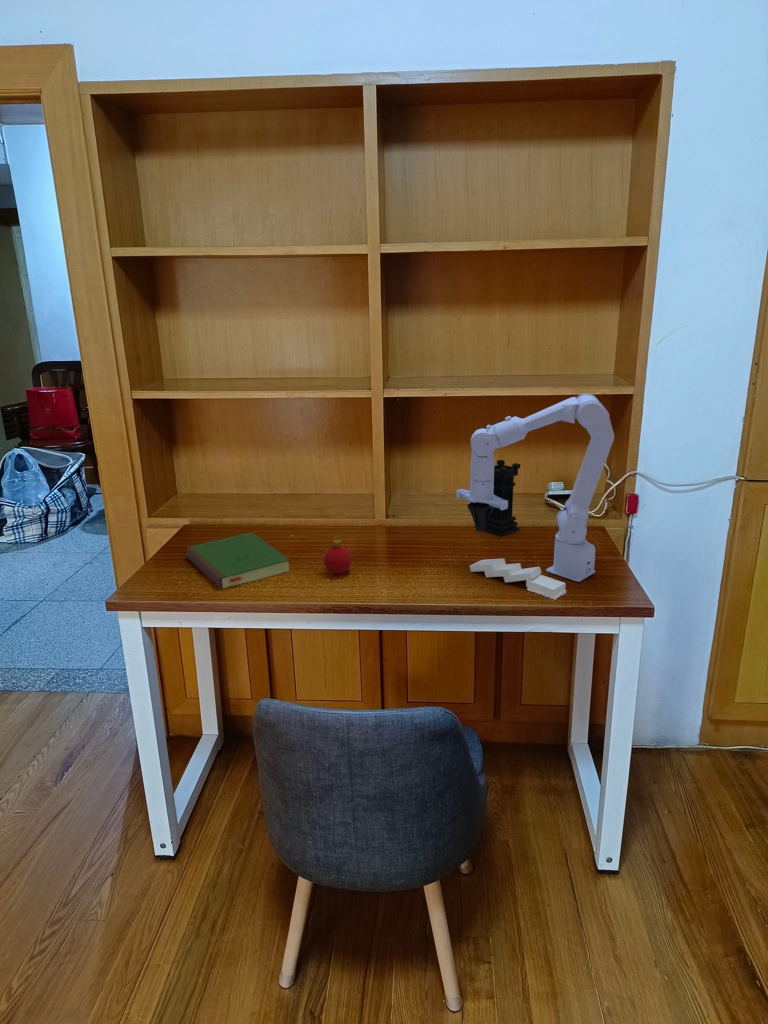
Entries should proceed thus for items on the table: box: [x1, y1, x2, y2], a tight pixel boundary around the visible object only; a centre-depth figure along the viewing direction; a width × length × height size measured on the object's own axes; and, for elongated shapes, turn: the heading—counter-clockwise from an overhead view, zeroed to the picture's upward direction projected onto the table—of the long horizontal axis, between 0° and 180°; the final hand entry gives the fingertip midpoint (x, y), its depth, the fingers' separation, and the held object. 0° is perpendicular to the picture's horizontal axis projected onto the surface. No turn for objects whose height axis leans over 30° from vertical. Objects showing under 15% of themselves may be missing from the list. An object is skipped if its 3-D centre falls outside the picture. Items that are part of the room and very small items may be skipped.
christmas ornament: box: [323, 535, 353, 575], centre depth 173 cm, size 7×7×10 cm
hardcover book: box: [186, 531, 291, 590], centre depth 180 cm, size 25×19×4 cm
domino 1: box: [469, 558, 507, 573], centre depth 172 cm, size 2×5×8 cm
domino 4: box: [525, 574, 566, 596], centre depth 161 cm, size 2×5×8 cm
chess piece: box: [483, 459, 521, 538], centre depth 197 cm, size 8×8×20 cm
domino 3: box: [502, 566, 542, 584], centre depth 165 cm, size 2×5×8 cm
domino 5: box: [526, 587, 567, 601], centre depth 161 cm, size 2×5×8 cm
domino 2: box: [483, 562, 523, 578], centre depth 168 cm, size 2×5×8 cm
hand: (480, 530), depth 171 cm, fingers closed
